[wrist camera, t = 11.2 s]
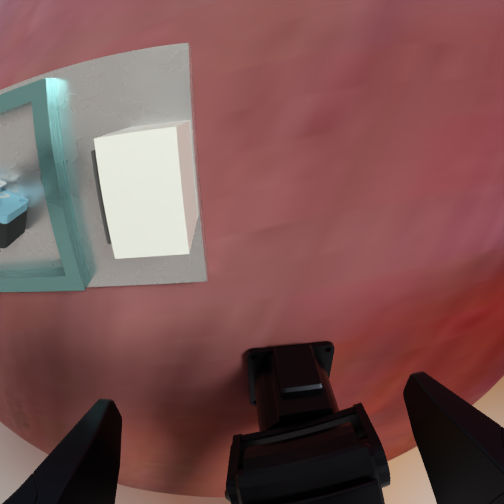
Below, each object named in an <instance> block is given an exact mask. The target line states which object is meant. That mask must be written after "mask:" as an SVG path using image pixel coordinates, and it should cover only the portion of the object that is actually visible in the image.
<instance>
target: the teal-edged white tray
mask: <svg viewBox="0 0 504 504" xmlns="http://www.w3.org/2000/svg"><path fill="white" fill-rule="evenodd" d="M186 120H190V125H191V140H192V153H193V165H194V177H195V188H196V199H197V210H198V218H197V223H196V227H195V231H194V236H193V240H192V245H191V249H190V254H183V255H167V256H152V257H137V258H121V259H115V256H114V252H113V248H112V244H107V240H106V236H105V231H104V226H103V222H102V217H101V211H100V206H99V201H98V195H97V189H96V183H95V177H94V171H93V164H92V157H91V151H92V150H94V149H95V144H94V138H97V137H100V136H103V135H106V134H109V133H112V132H116V131H119V130H122V129H125V128H130V127H136V126H143V125H151V124H159V123H167V122H176V121H186ZM0 180H2V181H5V182H6V185H5V186H3V187H1V188H0V189H2V190H4V191H7V192H9V193H12V194H14V195H17V196H19V197H23V198H26V199H28V206H27V215H26V224H25V232H24V233H23V234H22V235H21V236H20V237H19V238H17V239H16V240H15V241H14V242H13V243H12V244H10V245H9V246H8V247H7V248H0V292H44V291H82V290H85V289H86V288H87V287H103V286H127V285H149V284H168V283H187V282H204V281H207V278H208V262H207V252H206V243H205V233H204V223H203V212H202V202H201V190H200V179H199V166H198V153H197V139H196V125H195V108H194V91H193V70H192V47H191V46H190V44H189V43H181V44H173V45H166V46H159V47H152V48H146V49H140V50H135V51H129V52H124V53H119V54H115V55H110V56H106V57H101V58H97V59H93V60H89V61H85V62H82V63H78V64H74V65H71V66H67V67H64V68H61V69H57V70H54V71H51V72H48V73H45V74H42V75H39V76H36V77H33V78H30V79H28V80H25V81H22V82H20V83H17V84H15V85H12V86H9V87H7V88H5V89H2V90H0Z"/></svg>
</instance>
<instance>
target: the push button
mask: <svg viewBox="0 0 504 504" xmlns="http://www.w3.org/2000/svg"><path fill="white" fill-rule="evenodd" d="M5 185H6V182H5V181H2V180H0V188H1V187H3V186H5ZM27 206H28V199H26V198H23V197H19V196H17V195H14V194H12V193H9V192H7V191H4V190H2V189H0V248H7V247H8V246H9V245H10V244H12V243H13V242H14V241H15V240H16V239H17V238H19V237H20V236H21V235H22V234H23V233H24V232H25V224H26V215H27Z"/></svg>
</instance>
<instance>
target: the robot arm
mask: <svg viewBox="0 0 504 504" xmlns="http://www.w3.org/2000/svg"><path fill="white" fill-rule="evenodd" d="M328 347H329V348H328ZM326 348H327V349H326ZM333 354H334V346H333V343H332V342H328V341H327V342H319V343H310V344H301V345H292V346H282V347H271V348H259V349H251V350H249V351H248V352H247V363H248V378H249V393H250V403H251V404H252V405H254V406H257V414H258V423H259V432H255V433H250V434H245V435H242V434H238V435H233V442H232V445H231V450H230V457H229V465H228V473H227V481H226V490H225V497H226V499H227V500H228V501H230V502H231V504H385V503H384V498H383V493H382V488H383V487H386V486H388V485H390V472H389V467H388V463H387V459H386V456H385V452H384V449H383V447H382V444H381V442H380V440H379V437H378V435H377V433H376V431H375V429H374V427H373V425H372V423H371V421H370V419H369V417H368V415H367V413H366V411H365V409H364V407H363V405H362V403H358V404H355V405H353V407H350V408H347V409H344V410H341V411H339V408H338V405H337V402H336V399H335V396H334V393H333V390H332V387H331V384H330V381H329V376H330V371H331V365H332V359H333ZM252 355H256V356H252ZM403 396H404V400H405V404H406V408H407V411H408V415H409V419H410V423H411V427H412V431H413V435H414V438H415V441H416V443H417V446H418V449H419V451H420V454H421V457H422V460H423V463H424V466H425V468H426V471H427V474H428V477H429V480H430V483H431V486H432V489H433V492H434V495H435V498H436V502H437V504H504V428H503V427H501V426H500V425H499V424H497V423H496V422H495V421H493V420H492V419H490V418H489V417H487V416H486V415H485V414H483V413H481V412H480V411H479V410H477V409H476V408H475V407H473V406H472V405H470V404H469V403H467V402H466V401H465V400H463V399H462V398H460V397H459V396H458V395H456V394H455V393H453V392H452V391H450V390H449V389H448V388H446V387H445V386H443V385H442V384H440V383H439V382H438V381H436V380H435V379H433V378H432V377H430V376H429V375H428V374H426V373H425V372H422V371H421V372H416V373H413V374H411V375H410V376H409V379H408V381H407V384H406V386H405V388H404V392H403ZM121 432H122V417H121V414H120V412H119V411H118V409H117V407H116V405H115V403H114V401H113V400H111V399H99V400H98V401H97V402H96V403H95V404H94V405H93V406H92V408H91V409H90V410H89V411H88V412H87V413H86V414H85V415H84V416H83V417H82V419H81V420H80V421H79V422H78V423H77V424H76V425H75V426H74V427H73V429H72V430H71V431H70V432H69V433H68V434H67V435H66V436H65V437H64V439H63V440H62V441H61V442H60V443H59V444H58V445H57V446H56V447H55V449H54V450H53V451H52V452H51V453H50V454H49V455H48V456H47V458H46V459H45V460H44V461H43V462H42V463H41V464H40V465H39V466H38V468H37V469H36V470H35V471H34V474H31V475H30V476H29V478H28V479H27V480H26V481H25V482H24V483H23V484H22V485H21V486H20V488H19V489H17V490H16V492H14V493H13V494H12V495H11V496H10V497H9V498H8V499H7V500H6V501H5V502H4V503H2V504H115V496H116V489H117V482H118V475H119V468H120V454H121Z"/></svg>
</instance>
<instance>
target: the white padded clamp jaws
mask: <svg viewBox="0 0 504 504" xmlns="http://www.w3.org/2000/svg"><path fill="white" fill-rule="evenodd" d="M94 144H95V149H94V150H92V151H91V157H92V164H93V171H94V177H95V183H96V189H97V195H98V201H99V206H100V211H101V217H102V222H103V226H104V231H105V236H106V240H107V244H112V248H113V252H114V256H115V259H121V258H137V257H152V256H167V255H183V254H190V249H191V245H192V240H193V236H194V231H195V227H196V223H197V218H198V210H197V199H196V188H195V177H194V165H193V153H192V140H191V125H190V120H186V121H176V122H167V123H159V124H151V125H143V126H136V127H130V128H125V129H122V130H119V131H116V132H112V133H109V134H106V135H103V136H100V137H97V138H94Z"/></svg>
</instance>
